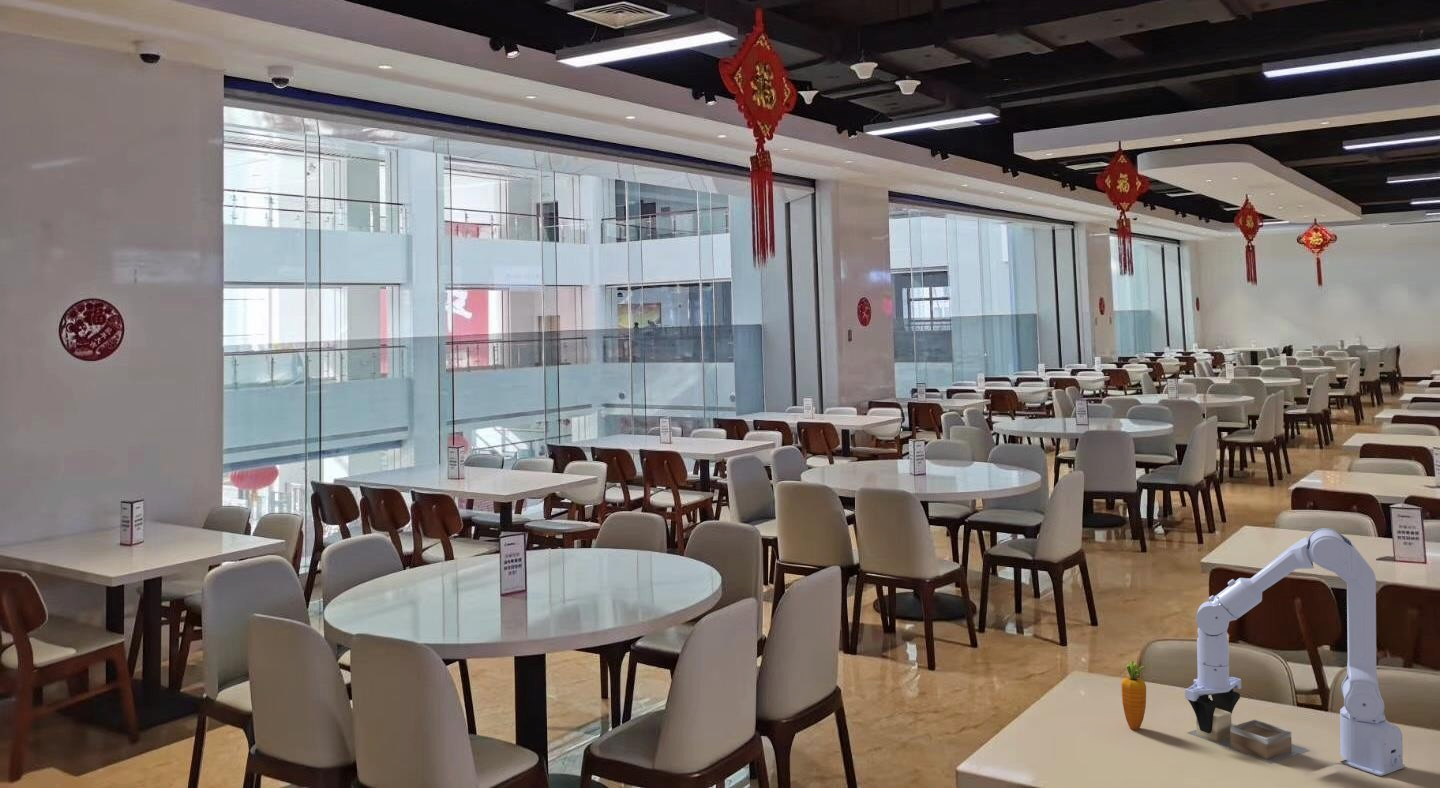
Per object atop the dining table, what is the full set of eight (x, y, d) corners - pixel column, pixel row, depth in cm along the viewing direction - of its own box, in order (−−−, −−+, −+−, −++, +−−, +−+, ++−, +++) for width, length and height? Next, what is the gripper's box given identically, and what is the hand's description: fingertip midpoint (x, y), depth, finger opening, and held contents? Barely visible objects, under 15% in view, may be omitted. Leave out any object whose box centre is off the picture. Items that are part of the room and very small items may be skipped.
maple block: (1231, 737, 199) (1231, 712, 199) (1216, 741, 197) (1216, 717, 197) (1211, 730, 203) (1211, 706, 203) (1196, 734, 201) (1196, 710, 201)
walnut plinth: (1291, 751, 191) (1291, 731, 191) (1266, 760, 187) (1266, 739, 187) (1255, 739, 197) (1254, 719, 197) (1230, 746, 194) (1230, 726, 194)
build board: (1310, 755, 191) (1310, 750, 191) (1270, 768, 186) (1270, 763, 186) (1225, 726, 207) (1225, 721, 207) (1186, 737, 202) (1186, 732, 202)
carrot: (1125, 727, 208) (1124, 656, 208) (1150, 732, 205) (1149, 660, 205) (1118, 734, 205) (1117, 662, 204) (1143, 739, 201) (1142, 666, 201)
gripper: (1218, 651, 206) (1219, 716, 207) (1171, 663, 199) (1172, 729, 200) (1250, 660, 200) (1251, 726, 200) (1202, 672, 193) (1203, 741, 194)
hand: (1214, 729), depth 200 cm, fingers closed on maple block, 4 cm apart
